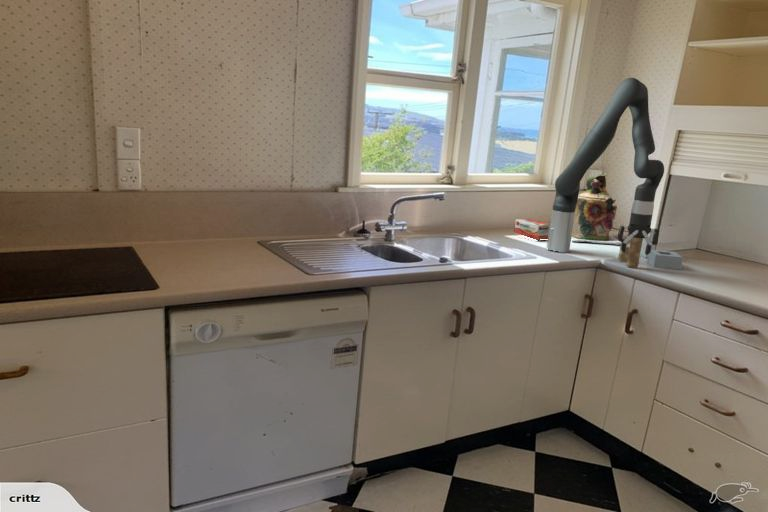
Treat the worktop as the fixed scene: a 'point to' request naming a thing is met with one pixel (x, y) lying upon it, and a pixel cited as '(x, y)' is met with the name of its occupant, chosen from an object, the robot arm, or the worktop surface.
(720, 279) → the worktop surface
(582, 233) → the cookie jar
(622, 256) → the short pin
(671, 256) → the socket block
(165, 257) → the worktop surface
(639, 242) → the long pin
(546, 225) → the medicine box
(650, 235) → the skincare box
